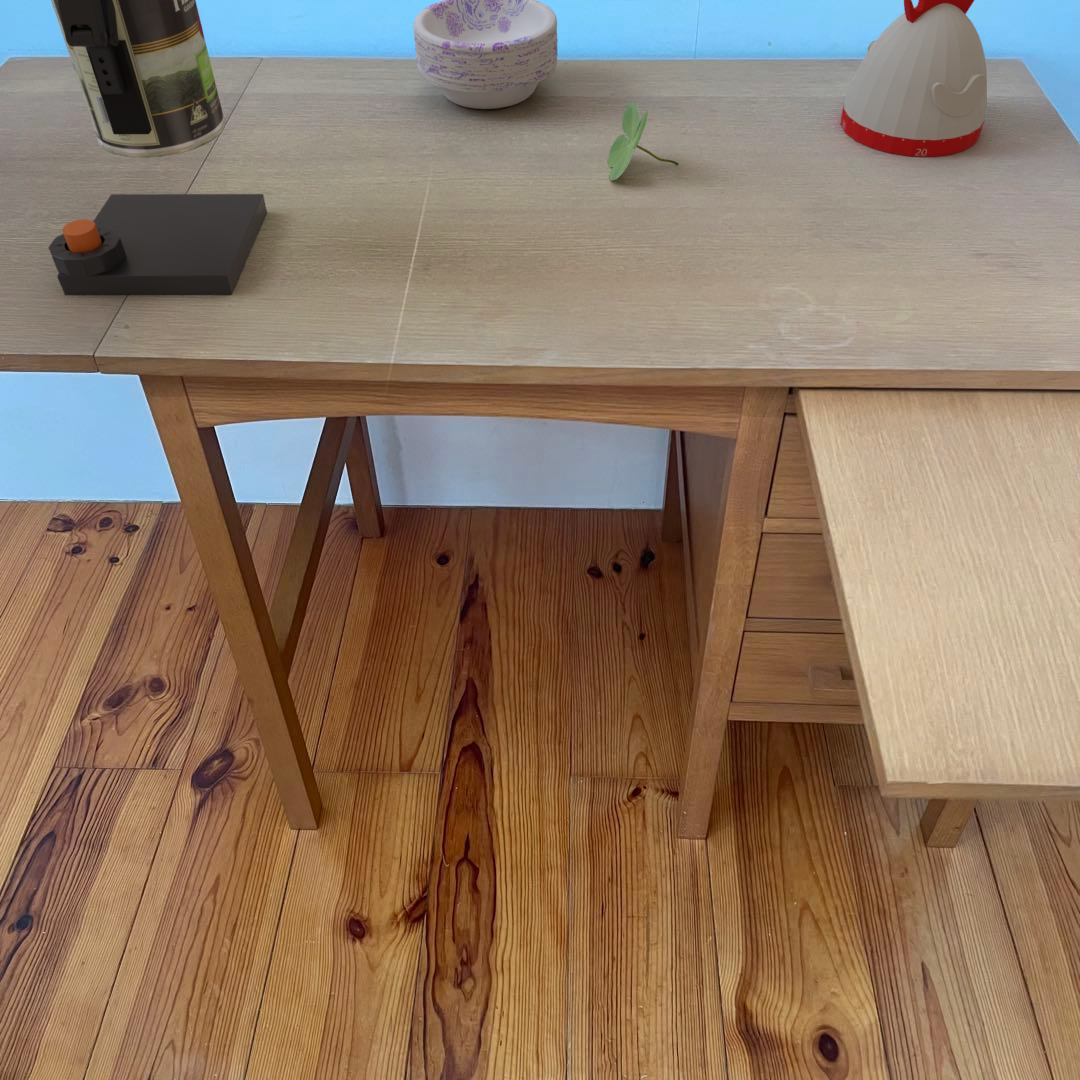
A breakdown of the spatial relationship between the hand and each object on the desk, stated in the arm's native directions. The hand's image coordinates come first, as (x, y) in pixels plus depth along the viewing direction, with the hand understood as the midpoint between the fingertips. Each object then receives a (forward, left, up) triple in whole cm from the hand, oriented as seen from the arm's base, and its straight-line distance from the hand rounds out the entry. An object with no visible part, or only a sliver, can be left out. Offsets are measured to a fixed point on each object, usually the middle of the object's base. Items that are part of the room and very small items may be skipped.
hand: (153, 103), depth 80 cm
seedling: (+40, +14, -13) cm, 44 cm away
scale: (-2, -1, -12) cm, 13 cm away
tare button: (-7, -6, -9) cm, 13 cm away
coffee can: (0, 0, -2) cm, 2 cm away
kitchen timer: (+68, +24, -13) cm, 73 cm away
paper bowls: (+24, +33, -13) cm, 43 cm away
